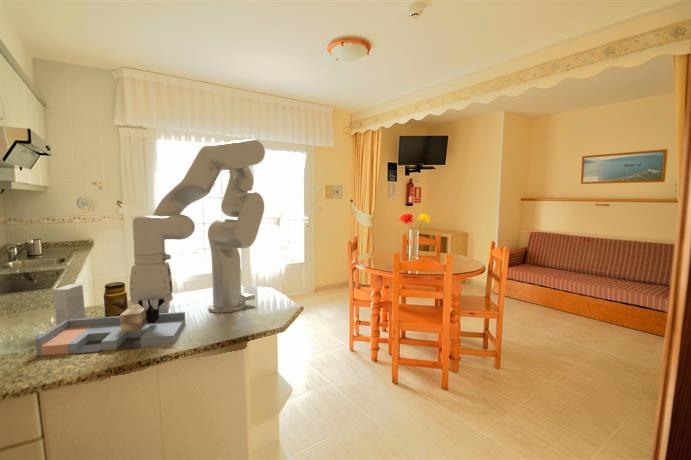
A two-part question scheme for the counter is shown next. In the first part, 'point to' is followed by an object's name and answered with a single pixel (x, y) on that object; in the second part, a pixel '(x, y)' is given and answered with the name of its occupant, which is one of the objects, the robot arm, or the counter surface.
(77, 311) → the skincare box
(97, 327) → the board
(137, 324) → the block
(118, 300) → the condiment
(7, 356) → the counter surface
